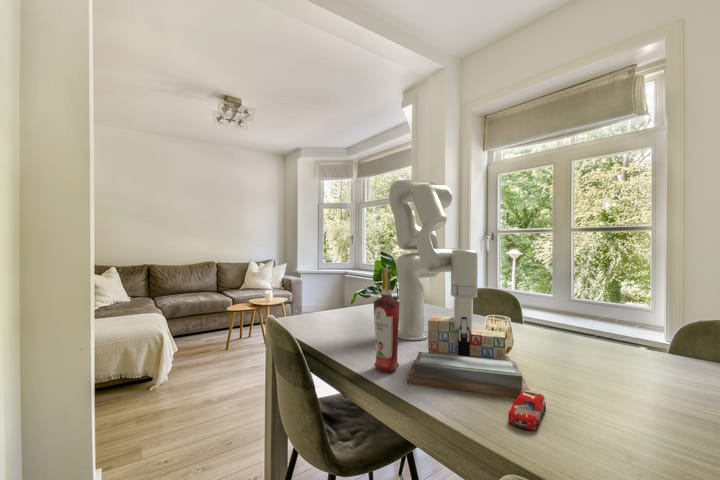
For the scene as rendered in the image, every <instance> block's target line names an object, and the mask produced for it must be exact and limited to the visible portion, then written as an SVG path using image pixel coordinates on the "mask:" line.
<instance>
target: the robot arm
mask: <svg viewBox="0 0 720 480" xmlns="http://www.w3.org/2000/svg"><path fill="white" fill-rule="evenodd" d="M388 200H389V201H388V202H389V205H390V208H391V212H392V214H393V219H394V226H395V235H396V242H397V246H398V248H399V249H400V250H403V251H417V252H411V253H410V252H409V253H403V254H401V255H400V256H399V257H397V259H396V264H395V267H396V273H397V279H398V280H397V281H398V301H399V302H400V305H399V327H398V339H400V340H405V341H422V340H426V339H428V331H426V330H425V289H424V287H423V284H422V283H421V281H420V280H419V279H422V278H424V279H425V278H434V277H437V276H438V275H439V274H440V273H450V296H451V297H454V299H453V317H454V330H455V331H456V330H459V341H458V355H463V356H470V342H469V332H471V329H473V328H472V327H473V318H474V317H473V315H474V312H473V310H474V299H475V298H478V253H477V251H475V250H473V249H460V248H450V247H449V248H448V247H447V248H446V247H444V248H443V247H442V248H441V247H439V241H438V237H437V234H436V231H437V230H439V229H441V228H443V227H444V226H445V224H446V223H447V220H448V219H447V217H446V213H445V211H444V209H446V208H448V207H450V205H451V204H452V202H453V192H452V191H451V189H450V188H449V187H448V186H447V185H443V184H440V183H434V182H431V181H423V180H422V181H421V180H411V179H400V180H399V179H398V180H396V181H394V182H393V183H391V185H390V188H389V192H388ZM408 203H414V205H415V208H416V212H417V214H418V218H419V221H420V223H421V226H419V225H418V223H417V216H416V213H415V212H414V210H413V208H412V207H411V206H410V205H409V204H408ZM461 318H462V323H461ZM466 319H467V320H466ZM460 325H461V328H462V330H460ZM467 325H468V331H466V328H467ZM461 333H462V334H461ZM466 333H467V334H466Z"/></svg>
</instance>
